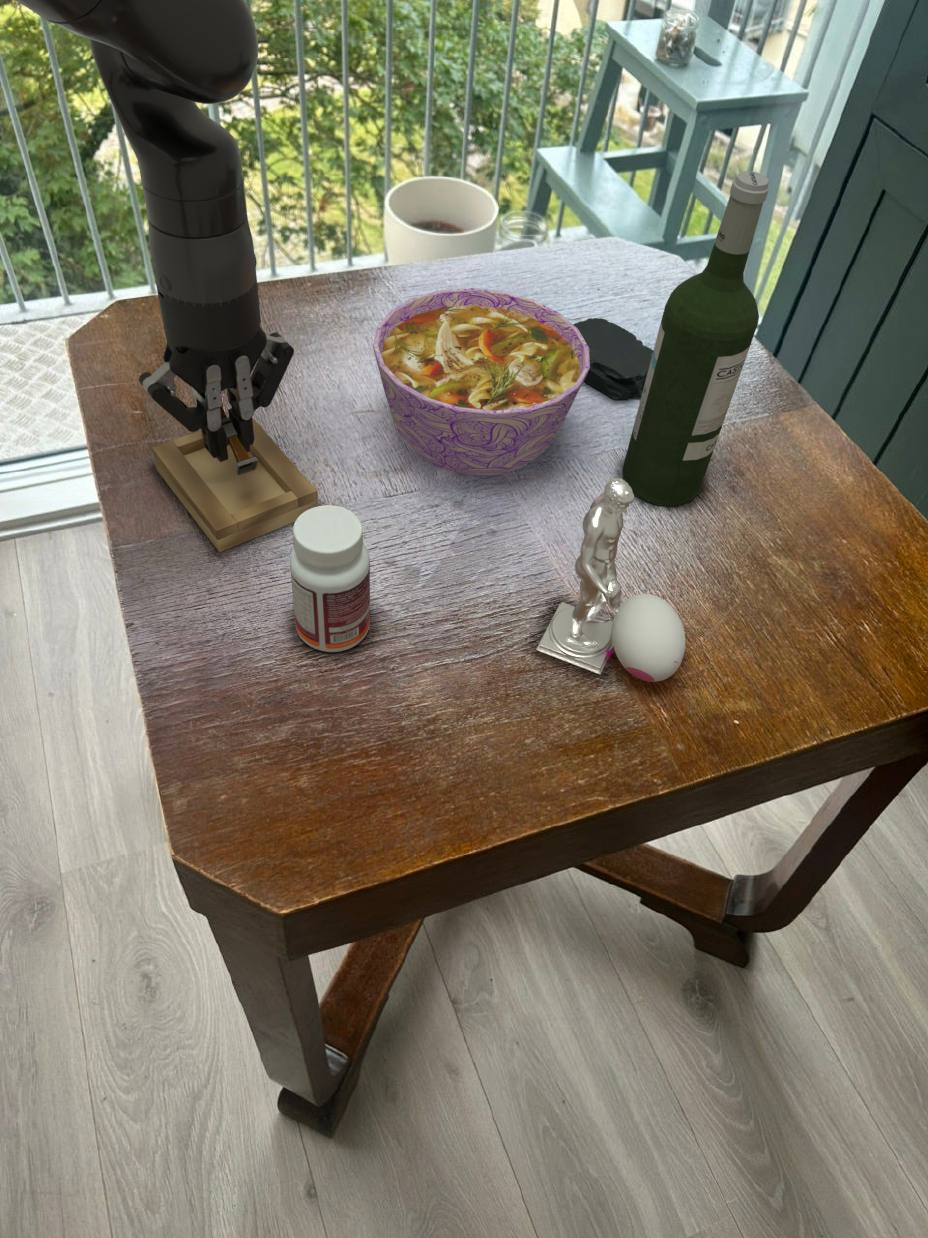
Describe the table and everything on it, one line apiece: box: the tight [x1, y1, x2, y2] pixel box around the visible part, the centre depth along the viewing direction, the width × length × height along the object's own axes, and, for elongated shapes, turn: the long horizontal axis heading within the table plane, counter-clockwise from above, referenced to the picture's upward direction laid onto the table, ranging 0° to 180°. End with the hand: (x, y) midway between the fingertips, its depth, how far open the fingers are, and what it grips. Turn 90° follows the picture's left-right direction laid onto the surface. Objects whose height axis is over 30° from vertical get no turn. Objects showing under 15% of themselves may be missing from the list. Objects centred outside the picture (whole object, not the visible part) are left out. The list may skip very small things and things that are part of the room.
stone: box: [572, 317, 654, 401], centre depth 105 cm, size 8×12×3 cm
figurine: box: [535, 477, 635, 676], centre depth 73 cm, size 8×7×18 cm
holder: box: [151, 417, 319, 553], centre depth 88 cm, size 10×13×3 cm
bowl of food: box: [372, 287, 590, 477], centre depth 92 cm, size 20×20×12 cm
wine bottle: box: [621, 170, 770, 507], centre depth 83 cm, size 8×8×30 cm
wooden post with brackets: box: [220, 402, 258, 476], centre depth 85 cm, size 2×8×4 cm, turn 33°
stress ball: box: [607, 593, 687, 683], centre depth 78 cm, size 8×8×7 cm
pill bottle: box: [289, 504, 371, 653], centre depth 75 cm, size 6×6×11 cm
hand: (230, 451), depth 85 cm, fingers closed on wooden post with brackets, 1 cm apart
